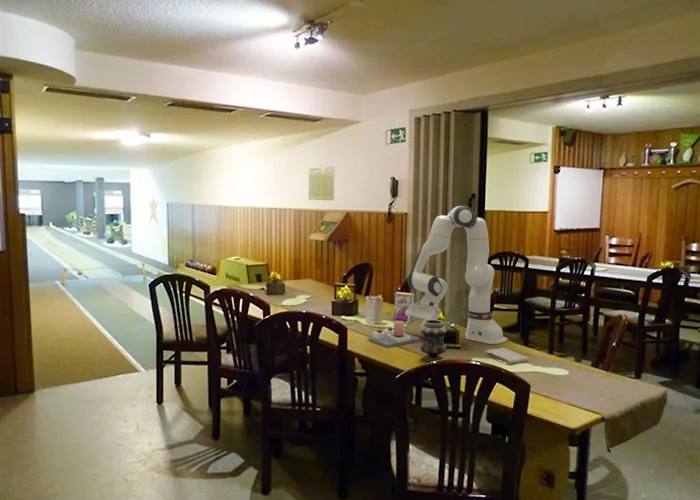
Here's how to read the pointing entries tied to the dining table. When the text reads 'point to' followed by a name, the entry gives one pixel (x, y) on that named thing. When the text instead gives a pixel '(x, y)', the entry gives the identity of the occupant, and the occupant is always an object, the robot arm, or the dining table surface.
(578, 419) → the dining table surface
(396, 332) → the lockout cap
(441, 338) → the apothecary jar
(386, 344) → the board
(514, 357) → the washcloth
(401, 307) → the candy bar box
